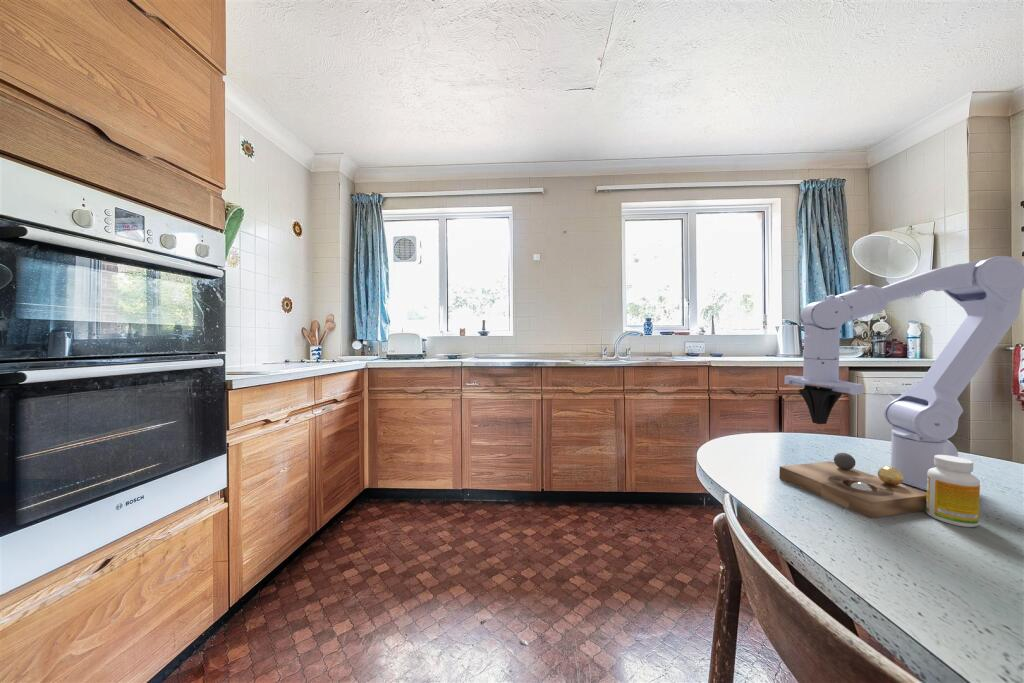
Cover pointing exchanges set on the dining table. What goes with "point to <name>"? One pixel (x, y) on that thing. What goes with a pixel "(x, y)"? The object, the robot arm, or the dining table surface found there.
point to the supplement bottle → (953, 491)
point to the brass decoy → (890, 475)
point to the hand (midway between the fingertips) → (819, 423)
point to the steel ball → (861, 486)
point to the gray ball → (844, 461)
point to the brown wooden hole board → (854, 489)
